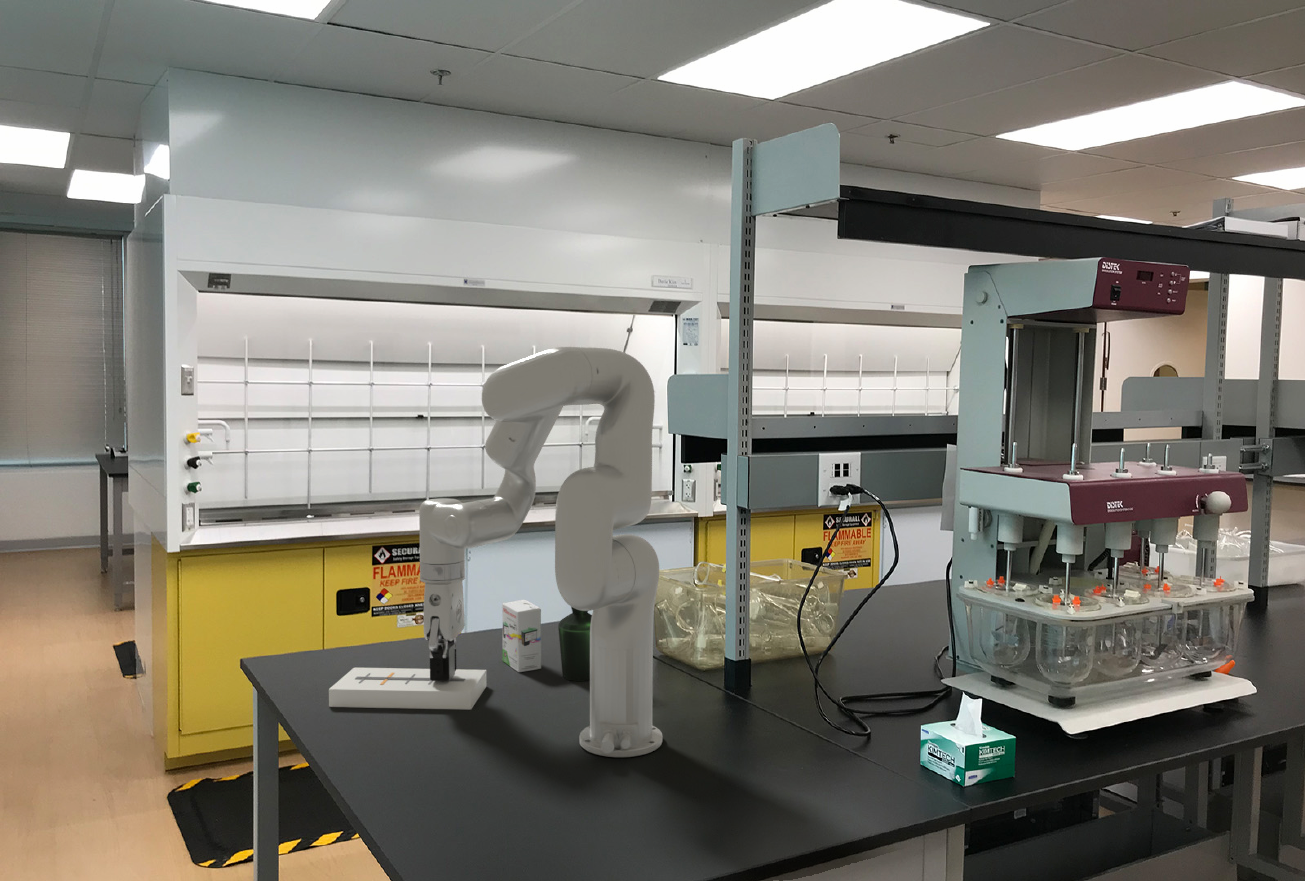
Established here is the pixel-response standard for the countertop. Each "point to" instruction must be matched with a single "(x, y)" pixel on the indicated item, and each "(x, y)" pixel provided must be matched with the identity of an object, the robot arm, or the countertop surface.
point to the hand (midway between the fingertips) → (443, 674)
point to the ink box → (521, 635)
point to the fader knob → (451, 658)
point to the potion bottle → (575, 645)
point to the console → (407, 689)
